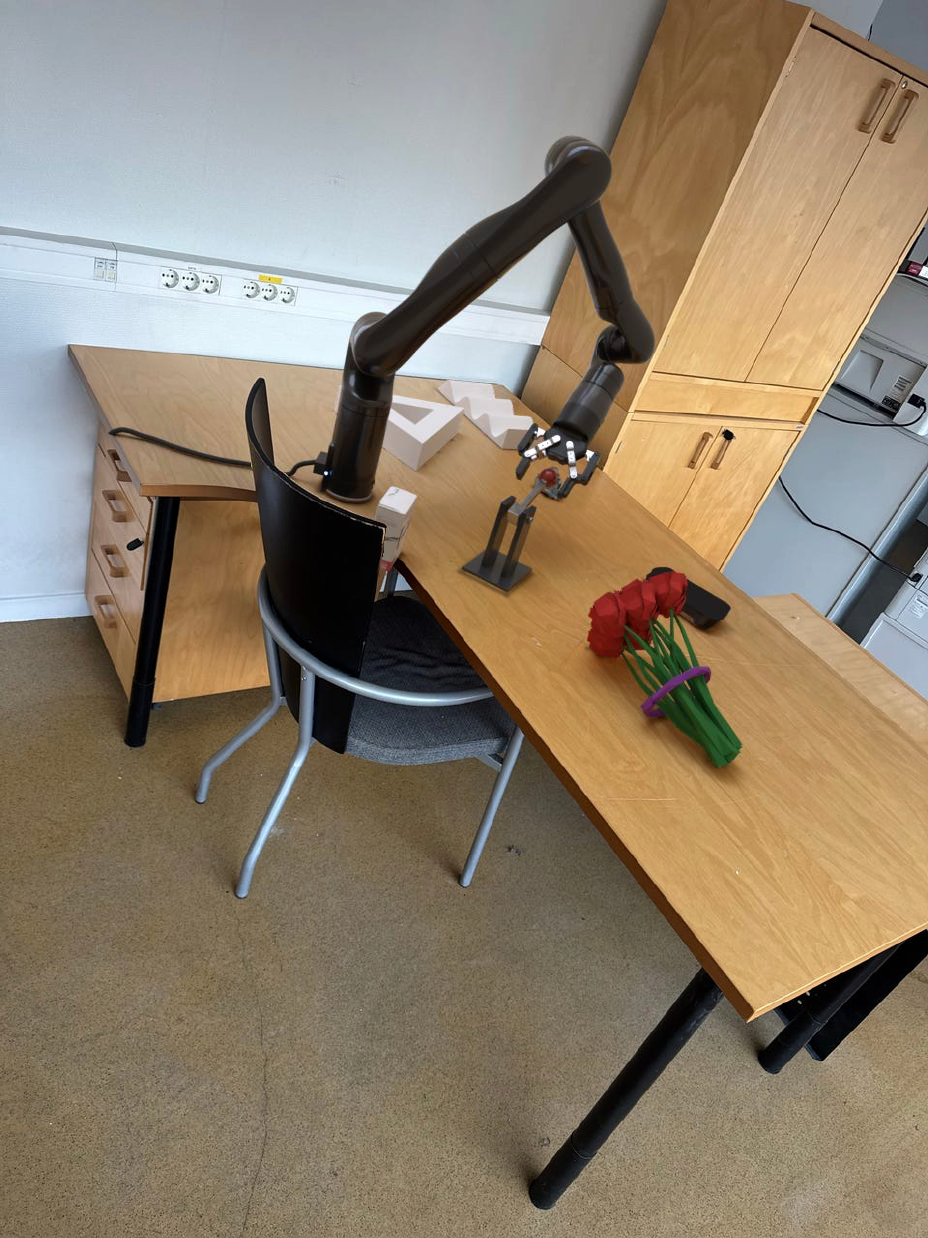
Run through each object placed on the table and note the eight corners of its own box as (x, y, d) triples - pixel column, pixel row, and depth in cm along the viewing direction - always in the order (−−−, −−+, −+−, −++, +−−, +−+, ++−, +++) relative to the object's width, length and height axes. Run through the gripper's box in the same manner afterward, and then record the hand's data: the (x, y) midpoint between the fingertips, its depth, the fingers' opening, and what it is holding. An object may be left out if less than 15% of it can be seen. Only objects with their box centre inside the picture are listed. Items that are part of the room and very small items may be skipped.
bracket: (487, 552, 156) (509, 485, 148) (530, 573, 153) (554, 506, 146) (460, 572, 147) (482, 502, 139) (505, 595, 144) (529, 525, 137)
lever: (542, 476, 154) (545, 461, 151) (558, 484, 153) (562, 469, 150) (502, 521, 144) (504, 506, 142) (519, 529, 144) (522, 515, 141)
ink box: (389, 576, 139) (405, 513, 133) (360, 566, 139) (375, 503, 133) (402, 554, 146) (418, 493, 140) (375, 544, 147) (390, 483, 140)
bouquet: (667, 810, 119) (551, 650, 133) (736, 780, 129) (622, 634, 143) (750, 729, 106) (613, 562, 120) (819, 702, 116) (685, 551, 130)
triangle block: (333, 410, 193) (338, 384, 189) (418, 406, 210) (424, 382, 207) (415, 471, 177) (422, 443, 174) (500, 461, 194) (508, 435, 191)
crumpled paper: (541, 483, 190) (550, 455, 186) (561, 500, 185) (571, 472, 181) (526, 483, 188) (535, 454, 184) (546, 500, 183) (556, 472, 179)
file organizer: (478, 393, 232) (483, 375, 229) (545, 450, 208) (552, 431, 206) (437, 389, 225) (442, 370, 222) (501, 448, 202) (508, 428, 199)
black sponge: (727, 623, 157) (735, 607, 156) (706, 635, 152) (714, 618, 150) (656, 579, 165) (663, 563, 163) (634, 588, 159) (641, 572, 157)
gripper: (547, 387, 150) (501, 461, 147) (619, 418, 146) (574, 495, 143) (549, 410, 157) (505, 481, 154) (618, 440, 153) (574, 513, 150)
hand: (538, 487), depth 148 cm, fingers open, 8 cm apart
